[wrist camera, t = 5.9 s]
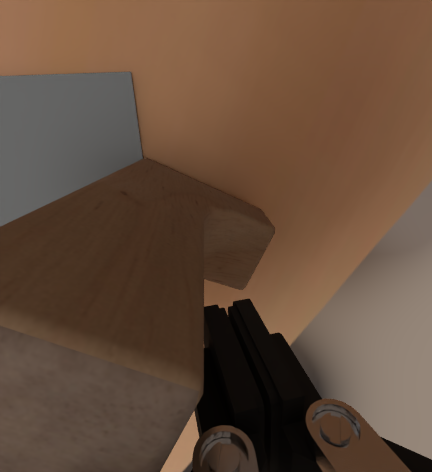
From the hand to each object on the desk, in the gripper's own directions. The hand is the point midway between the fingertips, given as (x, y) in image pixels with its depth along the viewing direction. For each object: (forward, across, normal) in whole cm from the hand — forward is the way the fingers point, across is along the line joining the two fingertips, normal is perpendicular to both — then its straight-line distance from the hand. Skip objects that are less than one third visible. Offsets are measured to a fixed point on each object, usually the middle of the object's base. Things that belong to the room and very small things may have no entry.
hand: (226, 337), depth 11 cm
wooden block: (+13, -1, 0) cm, 13 cm away
